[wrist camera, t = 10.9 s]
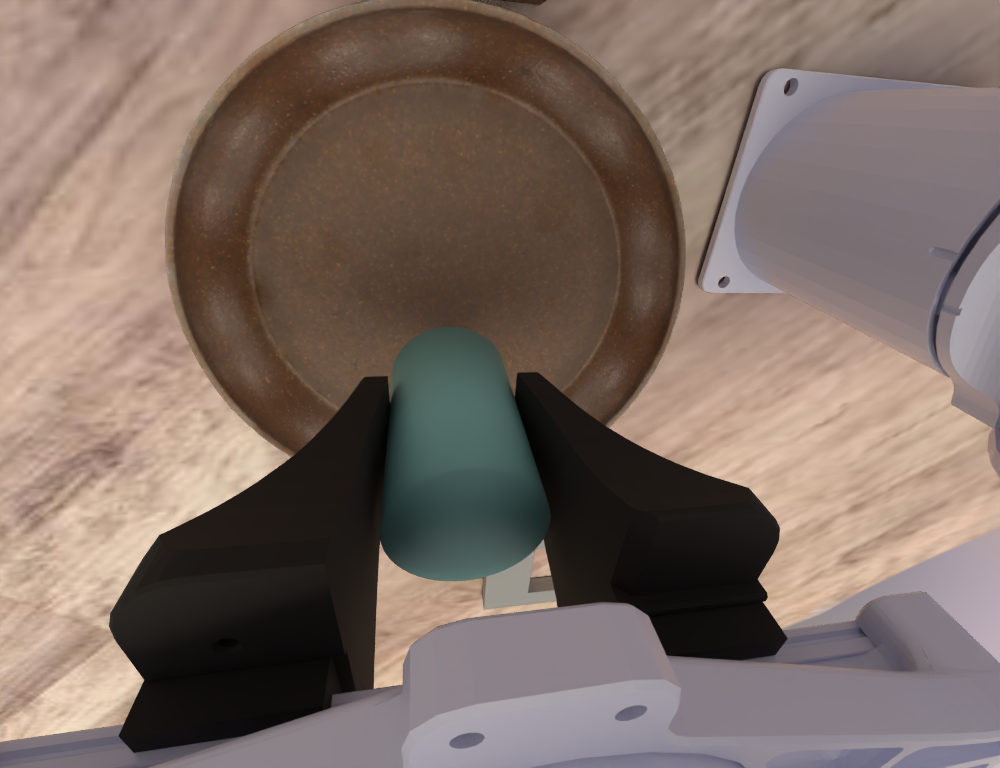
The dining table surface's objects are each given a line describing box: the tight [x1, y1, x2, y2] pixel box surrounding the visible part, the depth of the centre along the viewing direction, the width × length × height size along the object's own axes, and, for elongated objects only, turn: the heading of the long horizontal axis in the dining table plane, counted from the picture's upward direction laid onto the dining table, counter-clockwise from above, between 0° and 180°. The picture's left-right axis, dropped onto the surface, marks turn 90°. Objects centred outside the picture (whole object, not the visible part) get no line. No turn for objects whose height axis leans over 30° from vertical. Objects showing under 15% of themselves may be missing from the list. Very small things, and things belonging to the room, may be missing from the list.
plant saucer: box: [165, 0, 685, 457], centre depth 17 cm, size 18×18×3 cm
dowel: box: [380, 327, 551, 581], centre depth 12 cm, size 4×4×6 cm
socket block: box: [482, 539, 557, 610], centre depth 28 cm, size 10×7×1 cm
